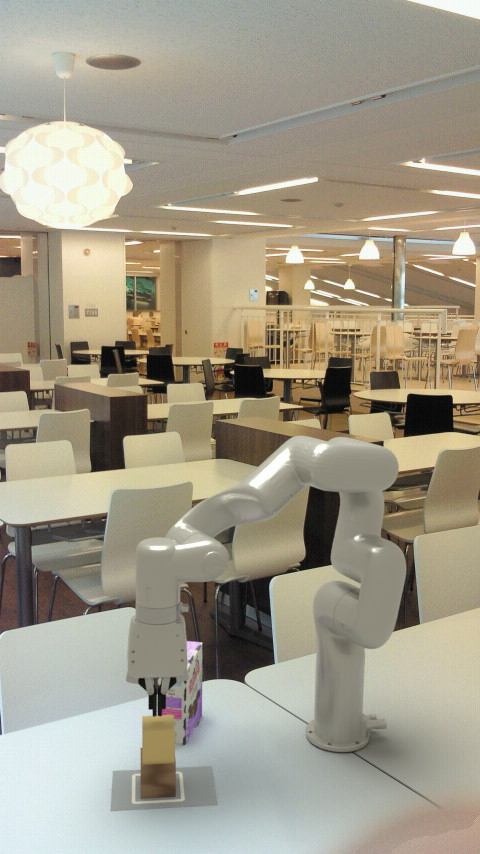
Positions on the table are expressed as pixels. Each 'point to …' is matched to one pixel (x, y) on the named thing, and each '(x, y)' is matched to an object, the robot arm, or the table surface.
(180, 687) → the candy box
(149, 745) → the ochre block
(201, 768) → the board
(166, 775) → the walnut block
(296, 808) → the table surface
